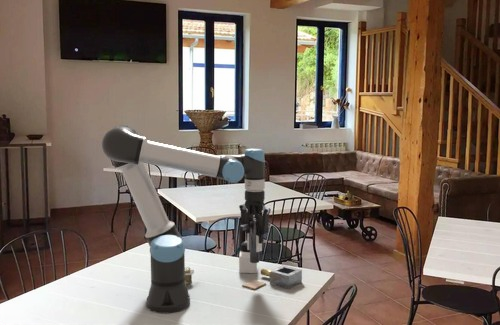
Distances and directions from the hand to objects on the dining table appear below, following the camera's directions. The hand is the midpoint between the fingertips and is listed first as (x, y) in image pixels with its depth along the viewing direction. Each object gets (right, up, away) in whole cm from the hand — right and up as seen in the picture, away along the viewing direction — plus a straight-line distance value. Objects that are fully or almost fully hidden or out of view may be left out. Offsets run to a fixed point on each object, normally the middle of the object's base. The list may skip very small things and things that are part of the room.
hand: (254, 250), depth 194 cm
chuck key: (-2, -5, -2) cm, 6 cm away
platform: (-28, -14, +3) cm, 32 cm away
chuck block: (+10, -13, +7) cm, 18 cm away
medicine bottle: (-3, -12, +19) cm, 23 cm away
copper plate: (0, -14, +2) cm, 14 cm away
